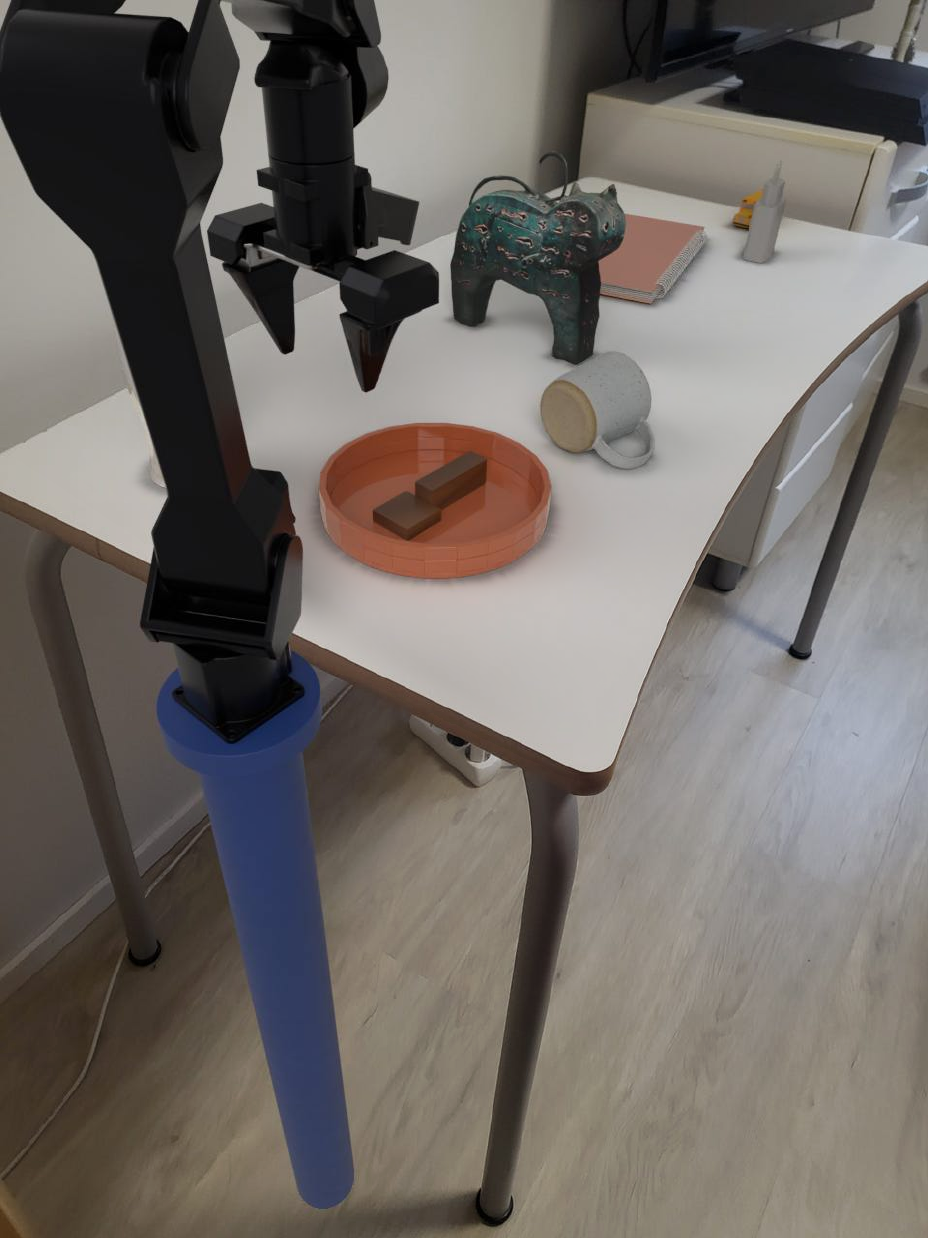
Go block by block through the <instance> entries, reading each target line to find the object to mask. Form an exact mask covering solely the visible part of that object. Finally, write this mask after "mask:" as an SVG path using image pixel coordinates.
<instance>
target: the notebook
mask: <svg viewBox="0 0 928 1238" xmlns="http://www.w3.org/2000/svg"><path fill="white" fill-rule="evenodd" d="M624 214H625V219H626V227H625V233H624V238H623V241H622V243H621V245H620V247H619V248H618V249H617V250H615V251H614V252H613V253H611V254H609V255H608V256H606V257H604V258H603V259H601V260H599V272H600V276H601V289H600V295H604V296H610V297H615V298H620V299H624V300H625V299H626V300H630V301H636V302H640V303H646V304H652V303H653V302H654V301H655V299H658V300H659V299H662V298H664V297H665V296H666V294H667V293H668V292H669V290H670V289H671V288H672V287H673V285H674V284H675V283H676V281H677V280H678V279H679V277H680V276H681V275H682V273H683V272H684V271H685V269H686V268H687V267H688V265H689V264H690V263H691V261H692V260H693V259H694V258H695V256H696V255H697V254H698V253H699V251H700V250H701V248H702V247H704V245H705V243H706V242H707V240H708V234H707V233H706V231H704V229H705V226H702V225H695V224H689V223H683V222H678V221H672V220H668V219H667V220H666V219H661V218H656V217H655V218H653V217H648V216H643V215H636V214H630V213H625V212H624Z"/></svg>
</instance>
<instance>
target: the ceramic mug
mask: <svg viewBox="0 0 928 1238" xmlns="http://www.w3.org/2000/svg"><path fill="white" fill-rule="evenodd" d="M648 381H649V380H648V379H647V377H646V374H645V373H644V371H643V370H642V368H641V367H640V366H639V364H638V363H637V362H636V360H634V359H633V358H631V357H630V356H628V355H627V354H625V353H623V352H620V351H614V350H610V351H606V352H603V353H601V354H599V355H597V356H595V357H593V358H592V359H590V360H587V361H586V362H584V363H582V364H580V365H578V366H576V367H575V368H573V369H572V370H569V371H567V372H565V373H562V374H561V375H560V376H557V378H555V379H554V380H553V381H552V382H551V383H550V384H548V385H547V386H546V388H545V389H544V391H543V393H542V394H541V398H540V404H539V410H540V418H541V421H542V425H543V427H544V430H545V431H546V433H547V435H548V436H549V438H550V439H551V440H552V441H553V442H554V443H555V444H556V445H557V446H559V448H561V449H563V450H565V451H568V452H571V453H582V452H587V451H591V450H595V452H596V453H597V454H598V455H599V457H600V458H601V459H603V460H604V461H606V462H607V463H608V464H610V465H611V466H613V467H616V468H619V469H623V470H632V469H633V470H634V469H637V468H639V467H641V466H643V465H645V463H647V461H648V460H649V459H650V457H651V456H652V455H653V453H654V451H655V448H656V439H655V434H654V433H653V430H652V427H651V426H650V424H649V423H648V421H647V420H648V417H649V416H650V412H651V408H652V392H651V387H650V384H649V382H648ZM635 431H637V433H638V434H639V437H641V440H642V441H643V444H644V447H645V454H643V455H640V456H635V457H632V456H626V455H622V454H621V453H618V452H617V451H615V450H613V448H612V447H610V446H609V445H608V444H607V443H609V442H612V441H614V440H615V439H618V438H621V437H623V436H625V435H628V434H629V433H632V432H635Z"/></svg>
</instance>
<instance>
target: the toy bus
mask: <svg viewBox="0 0 928 1238" xmlns="http://www.w3.org/2000/svg"><path fill="white" fill-rule="evenodd" d="M763 190H764V188H762V189H760V190H759V191H756V192H753V193H752V194H749V195H748V196H745V197H743V198H742V199H741V203H740V207H739V212H737V213H735V214H734V215H733V216H732V222H731V223H732V226H737V227H742V228H746V229H749V227H750V223H751V218H752V214H753V209H754V205H755V203H756V202H757V201H758V200H759V199H760V198H761V197H762V194H763ZM783 195H784V192H783V193H782V197H783Z"/></svg>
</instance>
